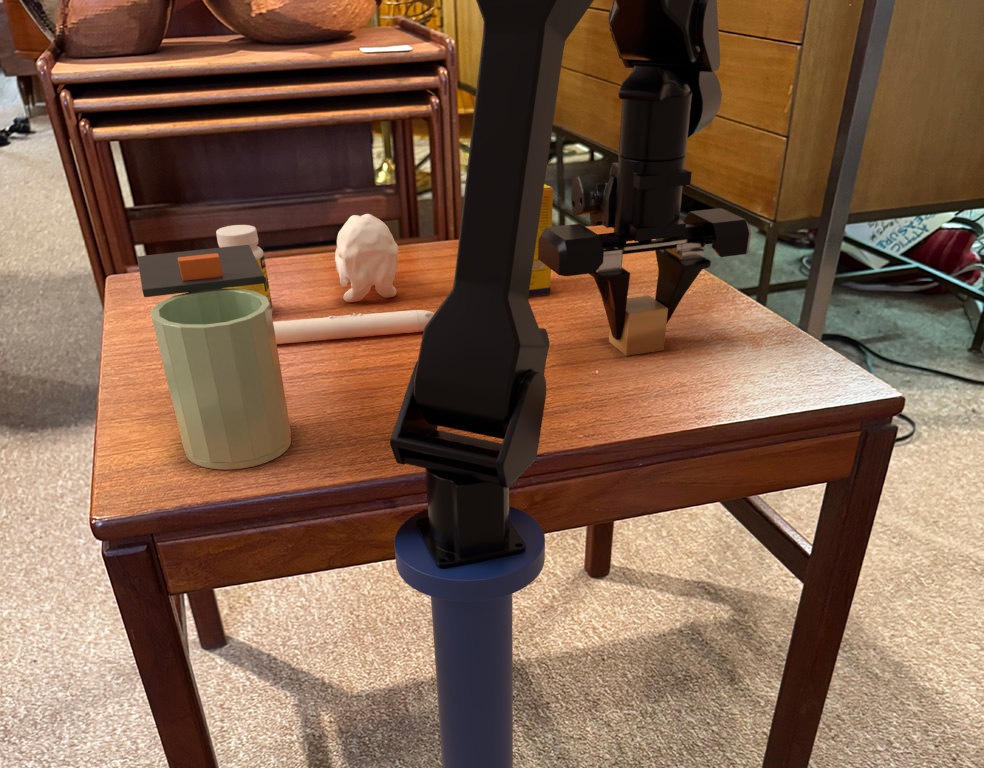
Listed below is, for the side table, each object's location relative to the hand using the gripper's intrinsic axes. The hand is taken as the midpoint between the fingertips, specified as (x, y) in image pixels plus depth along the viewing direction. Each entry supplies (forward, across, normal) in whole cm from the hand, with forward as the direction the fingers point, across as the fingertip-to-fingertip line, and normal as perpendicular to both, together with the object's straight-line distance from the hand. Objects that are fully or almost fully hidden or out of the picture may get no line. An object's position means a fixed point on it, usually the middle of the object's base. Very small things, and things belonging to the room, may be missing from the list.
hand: (637, 335), depth 90 cm
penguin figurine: (+1, +21, -26) cm, 33 cm away
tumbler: (+1, +39, +8) cm, 40 cm away
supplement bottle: (+1, +34, -23) cm, 41 cm away
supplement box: (+1, +5, -20) cm, 21 cm away
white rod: (+1, +25, -12) cm, 28 cm away
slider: (-10, +39, 0) cm, 40 cm away
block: (+1, 0, 0) cm, 1 cm away
